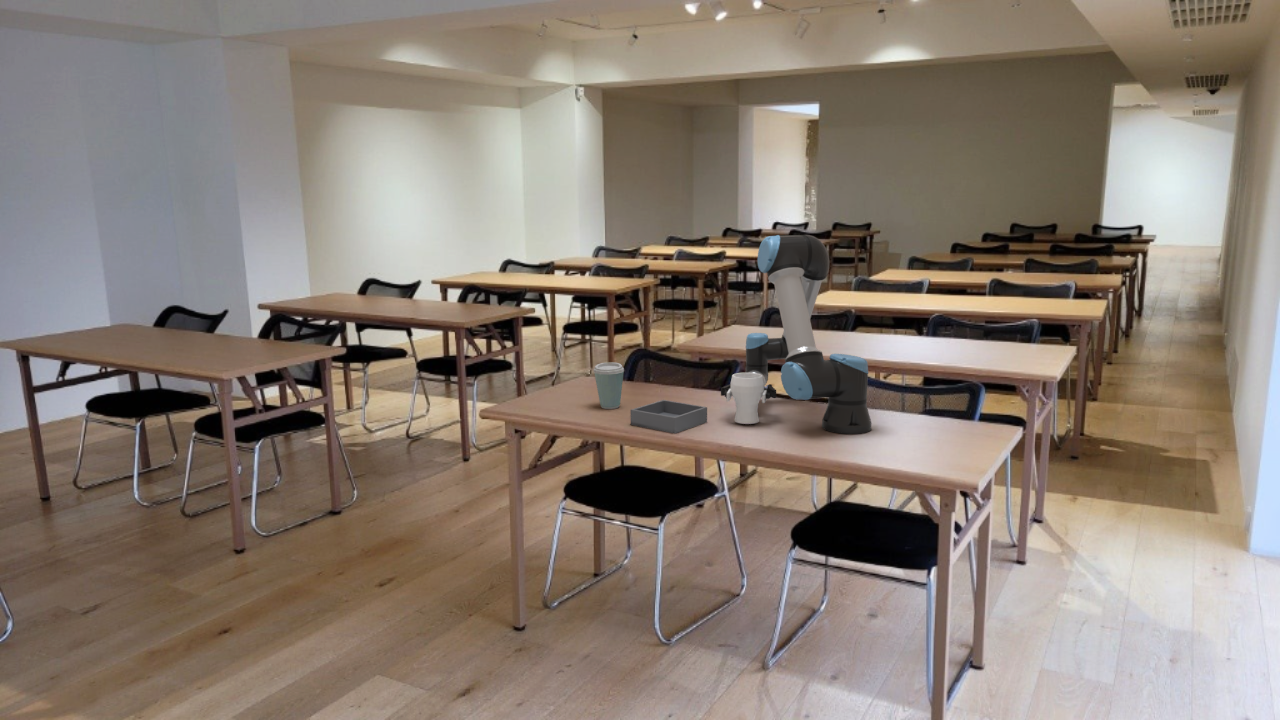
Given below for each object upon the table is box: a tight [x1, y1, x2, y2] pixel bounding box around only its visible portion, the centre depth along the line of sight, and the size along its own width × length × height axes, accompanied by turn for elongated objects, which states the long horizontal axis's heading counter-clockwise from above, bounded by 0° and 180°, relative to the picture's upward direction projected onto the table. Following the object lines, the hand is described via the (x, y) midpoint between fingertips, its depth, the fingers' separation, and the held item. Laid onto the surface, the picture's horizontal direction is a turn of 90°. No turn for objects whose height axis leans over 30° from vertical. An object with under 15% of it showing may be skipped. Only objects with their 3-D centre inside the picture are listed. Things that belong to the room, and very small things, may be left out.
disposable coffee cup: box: [593, 361, 625, 410], centre depth 316 cm, size 11×11×15 cm
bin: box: [630, 399, 708, 435], centre depth 295 cm, size 18×18×5 cm
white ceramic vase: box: [730, 372, 764, 425], centre depth 293 cm, size 11×11×15 cm
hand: (745, 398), depth 289 cm, fingers closed on white ceramic vase, 11 cm apart
